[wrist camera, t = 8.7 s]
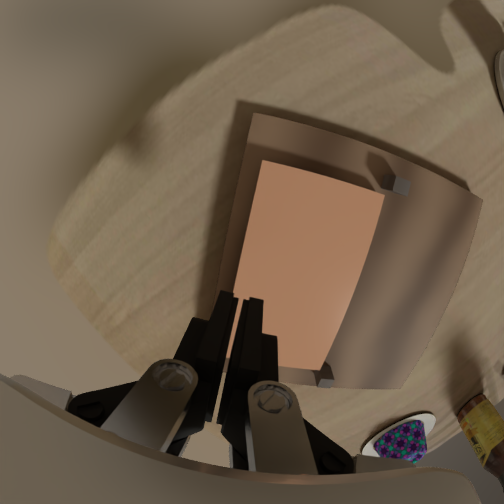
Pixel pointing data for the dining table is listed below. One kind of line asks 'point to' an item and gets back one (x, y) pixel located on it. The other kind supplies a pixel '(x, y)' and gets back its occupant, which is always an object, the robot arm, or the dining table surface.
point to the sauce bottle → (485, 434)
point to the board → (380, 252)
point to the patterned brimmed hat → (402, 439)
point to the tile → (304, 258)
